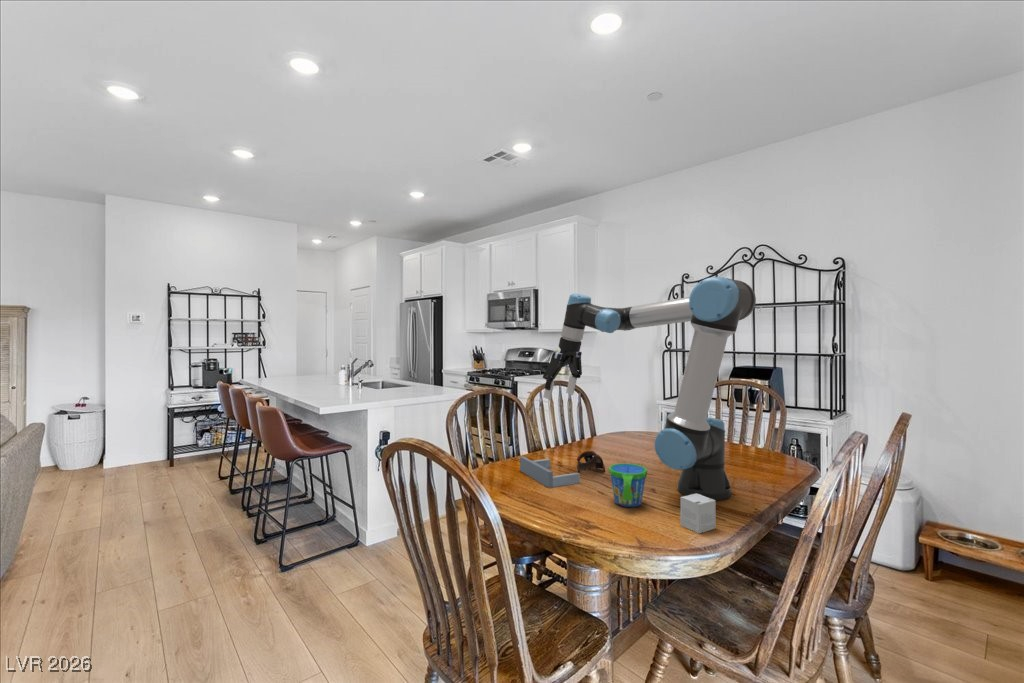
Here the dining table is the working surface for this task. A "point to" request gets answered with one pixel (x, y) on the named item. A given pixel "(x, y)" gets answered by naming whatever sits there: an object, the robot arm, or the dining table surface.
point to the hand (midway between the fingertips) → (558, 396)
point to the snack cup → (628, 483)
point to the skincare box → (698, 513)
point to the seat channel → (546, 473)
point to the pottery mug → (590, 461)
